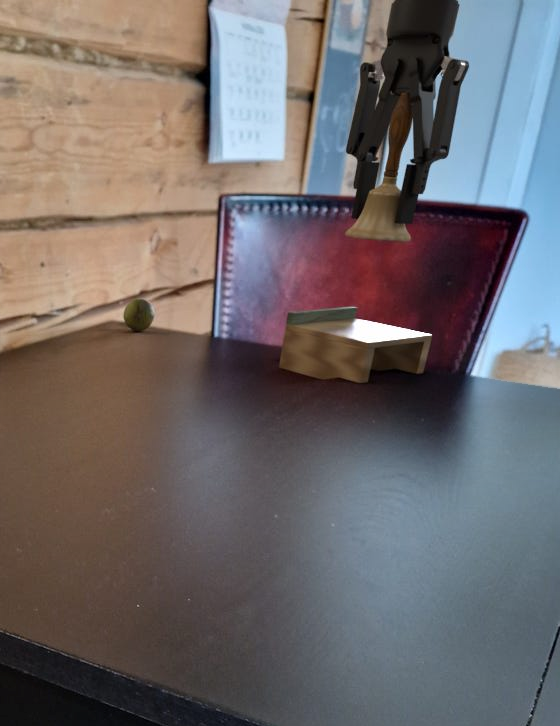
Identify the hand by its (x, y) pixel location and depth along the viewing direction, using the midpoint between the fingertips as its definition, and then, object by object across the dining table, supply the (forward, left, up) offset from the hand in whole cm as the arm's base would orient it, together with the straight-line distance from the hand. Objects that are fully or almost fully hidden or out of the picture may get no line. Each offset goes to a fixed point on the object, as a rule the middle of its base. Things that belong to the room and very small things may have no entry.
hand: (381, 220), depth 110 cm
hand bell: (0, 0, -2) cm, 2 cm away
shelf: (+1, -1, -19) cm, 20 cm away
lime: (+37, +8, -20) cm, 42 cm away
